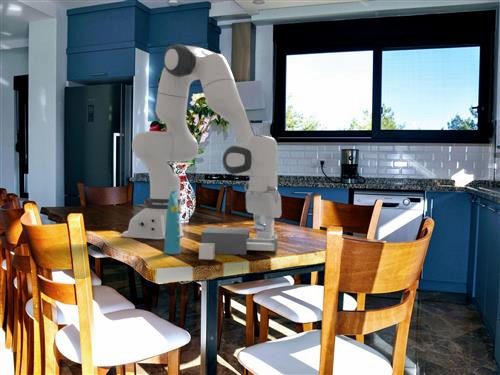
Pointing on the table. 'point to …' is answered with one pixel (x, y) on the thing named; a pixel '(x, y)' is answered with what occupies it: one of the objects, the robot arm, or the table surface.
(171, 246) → the tube
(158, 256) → the table surface
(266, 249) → the tray
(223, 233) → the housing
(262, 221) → the syrup box
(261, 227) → the disc
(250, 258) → the table surface
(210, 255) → the block
